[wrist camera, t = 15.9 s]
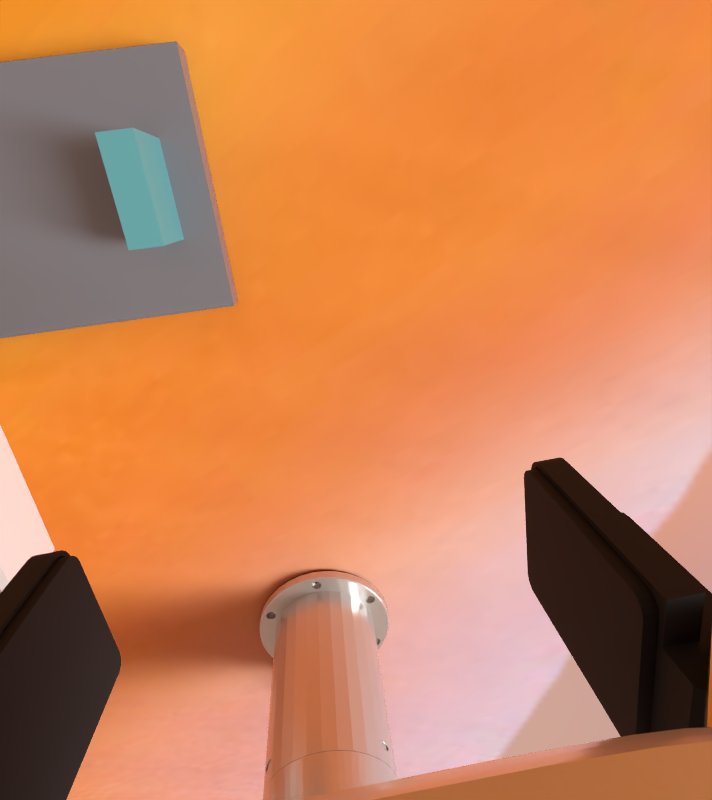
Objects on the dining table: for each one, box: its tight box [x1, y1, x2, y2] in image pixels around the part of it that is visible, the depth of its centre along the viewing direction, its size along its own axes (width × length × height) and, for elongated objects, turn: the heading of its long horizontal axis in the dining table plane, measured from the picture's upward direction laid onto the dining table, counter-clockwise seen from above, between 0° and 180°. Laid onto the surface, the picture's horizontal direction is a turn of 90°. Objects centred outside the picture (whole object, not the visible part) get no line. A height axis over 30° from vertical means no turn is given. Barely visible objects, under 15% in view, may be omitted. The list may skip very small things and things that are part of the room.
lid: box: [0, 41, 238, 338], centre depth 30 cm, size 16×20×7 cm
